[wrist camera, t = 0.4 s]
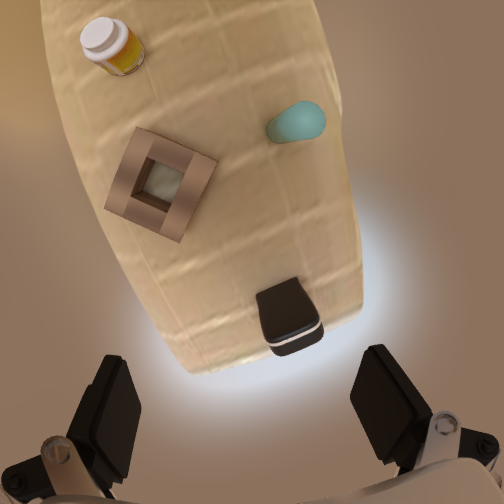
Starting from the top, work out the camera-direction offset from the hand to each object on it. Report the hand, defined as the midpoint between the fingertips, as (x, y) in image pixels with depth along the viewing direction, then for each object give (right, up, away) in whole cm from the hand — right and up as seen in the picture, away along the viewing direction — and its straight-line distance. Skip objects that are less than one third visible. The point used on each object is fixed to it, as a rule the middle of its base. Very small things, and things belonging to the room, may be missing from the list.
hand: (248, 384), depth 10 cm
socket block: (-11, +14, +24) cm, 29 cm away
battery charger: (+4, -1, +31) cm, 31 cm away
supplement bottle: (-16, +30, +17) cm, 39 cm away
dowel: (+4, +20, +23) cm, 31 cm away
